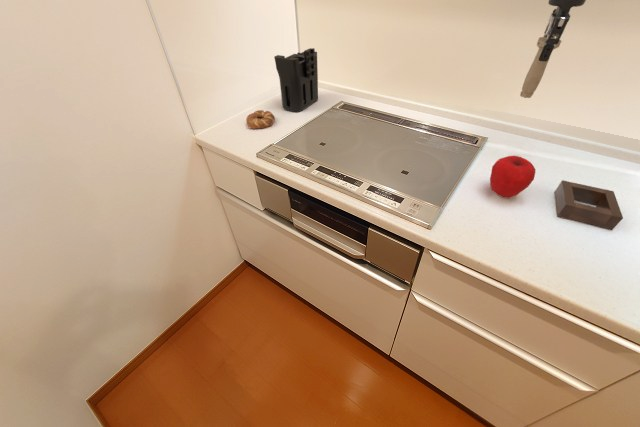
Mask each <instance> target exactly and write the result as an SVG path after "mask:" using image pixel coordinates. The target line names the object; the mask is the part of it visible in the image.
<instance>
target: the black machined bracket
mask: <svg viewBox="0 0 640 427" xmlns="http://www.w3.org/2000/svg"><path fill="white" fill-rule="evenodd" d="M315 49H316V48H314V47H313V48H312V47H311V48H308V49H307V48H306V49H305V50H304V51H302V52H297V53H293V54H291V55H289V56H286V57H285V55H281V54H276V55H274V56H273V58H274V63H275V69H276V72H277V74H278V78H279V86H280V87H279V88H280V96H281V105H282V109H283V110H285V111H289V112H292V113H293V112H295V113H299V112H302V111H303V110H305V109H306V108H308V107H309V106H311V105H312V104H314V103H316V102H318V101H319V87H318V86H319V72H318V71H319V70H318V51H316V50H315Z"/></svg>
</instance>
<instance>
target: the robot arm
mask: <svg viewBox="0 0 640 427" xmlns="http://www.w3.org/2000/svg"><path fill="white" fill-rule="evenodd" d="M586 1H587V0H548V2H547V3H548V5H549V6H553V7H556V8H554V9H553V10H552V12H551V14H550V16H549V19H548V22H547V24H546V27H545V30H544V34H543V36H542V37H547V39H546V41H545V43H544V47H543V50H542V52H541V54H540V57H539V61H545V62H546V61H548V60H549V61H550V58H551V55H552V53H553V51H554V50H553V48H554V46H556V45H557V44H558V43H559V40H561V37H562V35H563V34H564V31H565V29H566V26H567V24H568V23H569V21H570V19H571V14H570V12H571V9H572V8H575V7H576V8H577V7H581V6H583V5H584V4H585V3H586ZM551 37H553V38H556V39H551ZM549 57H550V58H549ZM549 61H548V62H549Z"/></svg>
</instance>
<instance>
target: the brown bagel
mask: <svg viewBox="0 0 640 427" xmlns="http://www.w3.org/2000/svg"><path fill="white" fill-rule="evenodd" d="M245 120H246V121H245V122H246V125H247V127H248V128H249V129H252V130H257V129H265V128H267V127H271V126H272V125H273V124H274V123H275V121H276V116H275V115H274V114H273V113H272V112H271V111H269V110H265V111H264V110H263V109H260V110H259V109H258V110H255V111H253V112H252V113H250V114H248V115H247V116H246V119H245Z"/></svg>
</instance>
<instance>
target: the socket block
mask: <svg viewBox="0 0 640 427" xmlns="http://www.w3.org/2000/svg"><path fill="white" fill-rule="evenodd" d="M615 194H616V193H615V191H614V190H610V189H605V188H600V187H597V186H596V187H595V186H592V185H587V184H581V183H577V182H574V181H573V182H572V181H567V180H564V179H563V180H562V179H561V181H560V182H559V184H558V185H557V187H556V189H555V190H554V200H555V209H556V210H555V211H556V217H557V218H560V219H563V220H564V219H565V220H568V221H573V222H576V223H581V224H584V225H588V226H593V227H597V228H599V229H604V230H609V231H613V230H614V229H615V228H616V227H617V226H618V224H620V222H622V220H623V219H624V217H623V213H622V211H621V209H620V205H619V203H618V199H617V196H616V195H615Z"/></svg>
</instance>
